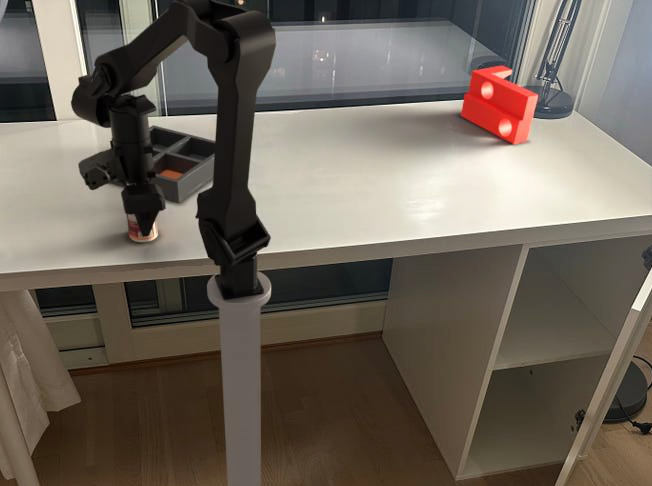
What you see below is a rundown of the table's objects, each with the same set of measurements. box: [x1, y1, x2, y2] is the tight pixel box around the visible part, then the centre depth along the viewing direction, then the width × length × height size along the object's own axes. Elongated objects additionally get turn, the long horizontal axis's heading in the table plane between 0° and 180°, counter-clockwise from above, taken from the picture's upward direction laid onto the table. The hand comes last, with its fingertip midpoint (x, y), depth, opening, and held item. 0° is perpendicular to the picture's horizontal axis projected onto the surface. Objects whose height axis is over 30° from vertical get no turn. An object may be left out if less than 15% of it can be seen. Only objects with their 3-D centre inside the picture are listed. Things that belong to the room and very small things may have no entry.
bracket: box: [460, 65, 539, 145], centre depth 160 cm, size 18×10×10 cm
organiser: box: [108, 125, 215, 204], centre depth 137 cm, size 19×19×4 cm
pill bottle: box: [125, 213, 159, 243], centre depth 117 cm, size 5×5×8 cm
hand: (142, 225), depth 119 cm, fingers open, 7 cm apart
